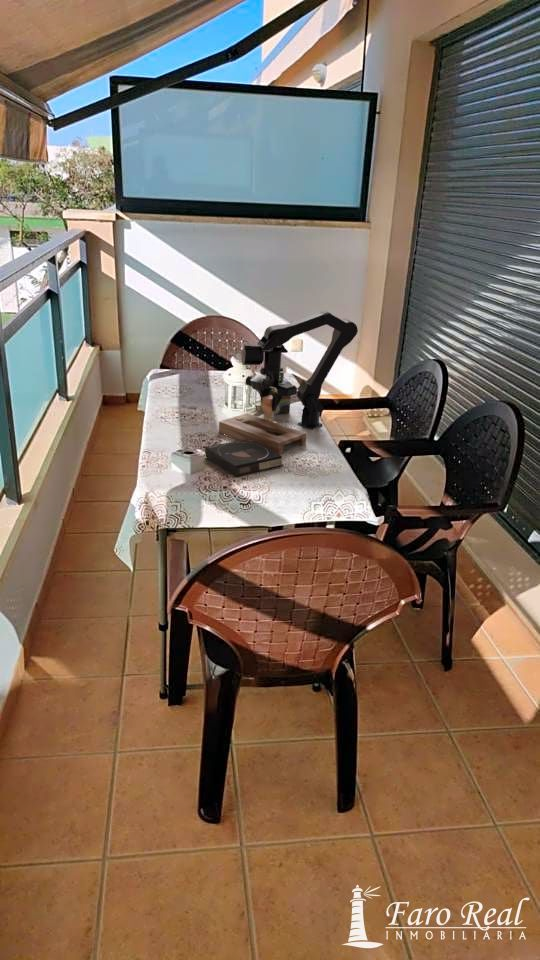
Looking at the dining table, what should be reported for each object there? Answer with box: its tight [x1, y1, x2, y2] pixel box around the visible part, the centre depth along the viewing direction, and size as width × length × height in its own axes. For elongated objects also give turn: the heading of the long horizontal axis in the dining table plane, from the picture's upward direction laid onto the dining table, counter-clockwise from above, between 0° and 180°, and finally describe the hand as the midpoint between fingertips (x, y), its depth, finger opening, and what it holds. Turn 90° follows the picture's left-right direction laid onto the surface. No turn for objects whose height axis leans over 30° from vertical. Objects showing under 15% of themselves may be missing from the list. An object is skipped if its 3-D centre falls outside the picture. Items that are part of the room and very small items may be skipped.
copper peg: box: [261, 395, 278, 423], centre depth 233 cm, size 4×4×10 cm
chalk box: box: [260, 371, 293, 415], centre depth 249 cm, size 9×9×15 cm
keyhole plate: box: [218, 412, 307, 455], centre depth 222 cm, size 14×26×4 cm, turn 50°
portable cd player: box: [204, 439, 283, 478], centre depth 202 cm, size 16×17×4 cm
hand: (269, 409), depth 232 cm, fingers closed on copper peg, 4 cm apart
